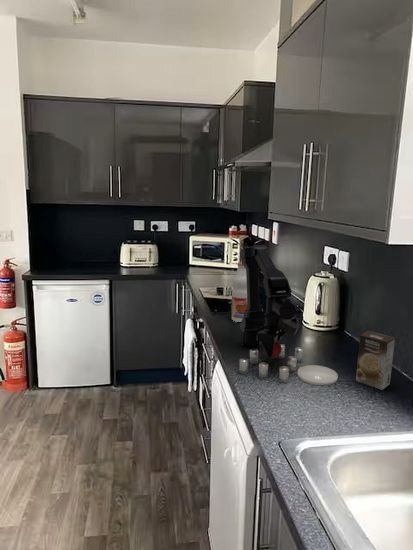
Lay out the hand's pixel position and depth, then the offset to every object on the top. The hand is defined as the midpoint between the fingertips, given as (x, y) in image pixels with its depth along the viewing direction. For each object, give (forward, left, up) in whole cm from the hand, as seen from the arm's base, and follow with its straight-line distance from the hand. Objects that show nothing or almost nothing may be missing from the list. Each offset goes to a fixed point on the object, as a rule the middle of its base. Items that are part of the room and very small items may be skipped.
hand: (272, 353), depth 147 cm
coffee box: (+33, +3, -5) cm, 33 cm away
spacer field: (0, 0, -5) cm, 5 cm away
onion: (0, 0, -2) cm, 2 cm away
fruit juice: (-30, +44, -5) cm, 54 cm away
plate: (+16, -1, -5) cm, 17 cm away
